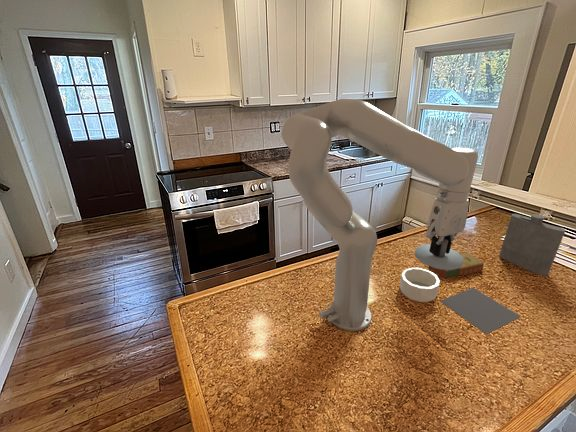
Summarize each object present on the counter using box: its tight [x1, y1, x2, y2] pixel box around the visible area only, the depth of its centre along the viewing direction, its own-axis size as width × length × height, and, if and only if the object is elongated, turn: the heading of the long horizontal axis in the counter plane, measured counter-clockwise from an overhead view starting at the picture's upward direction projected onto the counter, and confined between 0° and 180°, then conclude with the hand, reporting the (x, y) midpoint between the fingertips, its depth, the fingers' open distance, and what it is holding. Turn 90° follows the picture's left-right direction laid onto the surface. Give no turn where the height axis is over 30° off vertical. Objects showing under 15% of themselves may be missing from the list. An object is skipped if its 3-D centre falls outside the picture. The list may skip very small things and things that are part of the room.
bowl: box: [399, 267, 441, 303], centre depth 97 cm, size 11×11×6 cm
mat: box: [440, 287, 522, 335], centre depth 90 cm, size 15×15×1 cm
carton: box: [428, 251, 484, 279], centre depth 109 cm, size 8×16×4 cm, turn 106°
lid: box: [414, 238, 463, 270], centre depth 89 cm, size 13×13×6 cm
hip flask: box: [499, 213, 566, 277], centre depth 107 cm, size 16×4×20 cm, turn 29°
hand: (439, 252), depth 90 cm, fingers closed on lid, 3 cm apart
